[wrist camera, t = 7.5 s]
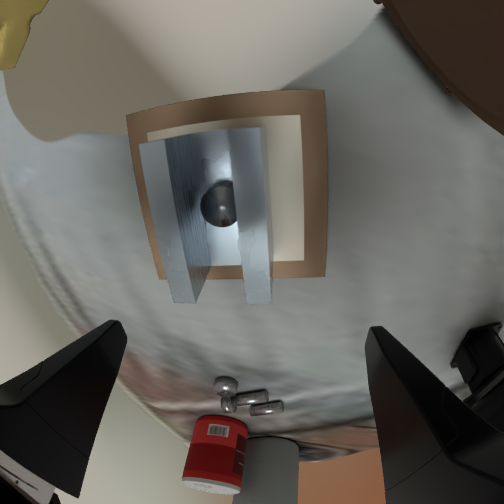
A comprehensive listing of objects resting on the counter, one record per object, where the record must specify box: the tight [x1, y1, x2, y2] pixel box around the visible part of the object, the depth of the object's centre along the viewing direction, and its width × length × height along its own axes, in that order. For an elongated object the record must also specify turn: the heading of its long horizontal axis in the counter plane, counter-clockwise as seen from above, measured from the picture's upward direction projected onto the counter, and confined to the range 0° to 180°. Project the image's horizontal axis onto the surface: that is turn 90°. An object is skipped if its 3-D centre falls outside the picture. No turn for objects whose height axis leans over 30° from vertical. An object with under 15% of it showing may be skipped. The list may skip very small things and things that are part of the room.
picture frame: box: [126, 90, 328, 279], centre depth 17 cm, size 12×12×2 cm
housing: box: [139, 125, 274, 304], centre depth 14 cm, size 8×5×5 cm, turn 5°
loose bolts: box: [213, 376, 284, 416], centre depth 28 cm, size 6×8×2 cm
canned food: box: [182, 415, 248, 494], centre depth 29 cm, size 8×8×11 cm
